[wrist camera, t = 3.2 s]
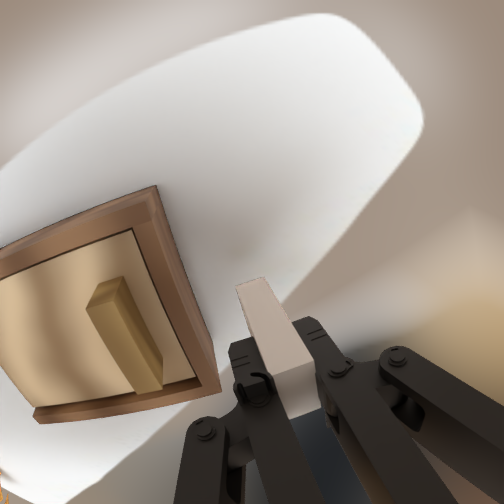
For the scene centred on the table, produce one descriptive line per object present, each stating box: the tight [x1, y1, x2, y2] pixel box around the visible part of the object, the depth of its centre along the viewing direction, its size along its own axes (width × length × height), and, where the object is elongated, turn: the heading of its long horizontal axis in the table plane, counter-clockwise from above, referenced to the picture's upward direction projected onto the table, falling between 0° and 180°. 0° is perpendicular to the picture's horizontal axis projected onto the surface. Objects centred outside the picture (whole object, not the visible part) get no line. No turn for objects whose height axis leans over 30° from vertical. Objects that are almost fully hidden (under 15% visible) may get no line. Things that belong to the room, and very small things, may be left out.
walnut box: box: [0, 185, 222, 424], centre depth 18 cm, size 16×13×6 cm
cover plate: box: [0, 227, 196, 407], centre depth 15 cm, size 15×10×4 cm
